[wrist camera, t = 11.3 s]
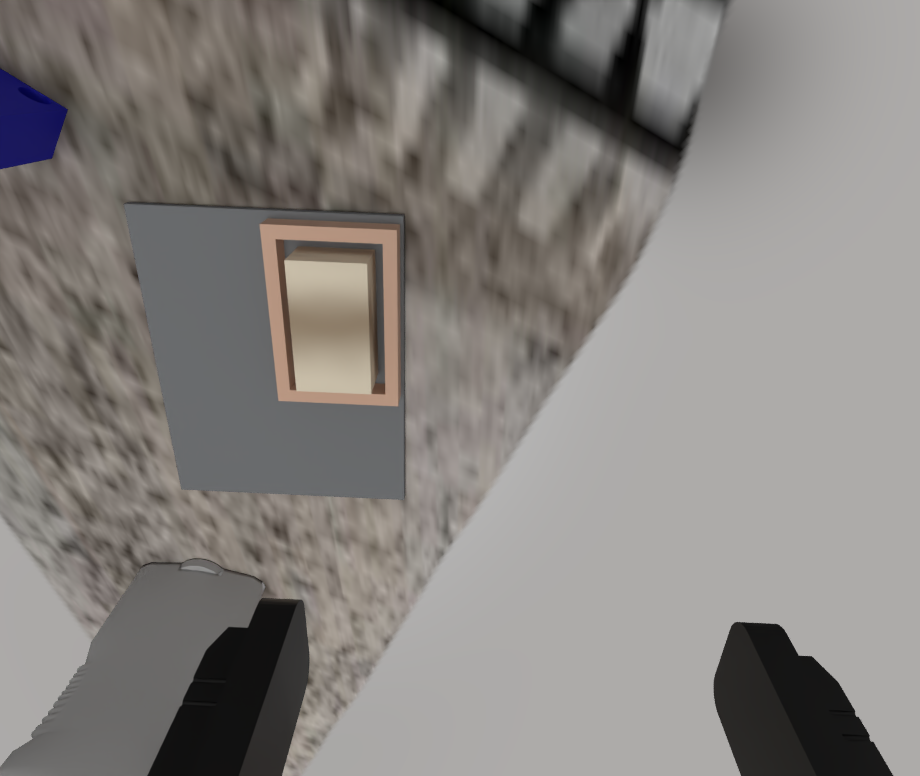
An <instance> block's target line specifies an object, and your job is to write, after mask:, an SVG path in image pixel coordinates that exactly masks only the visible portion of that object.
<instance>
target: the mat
mask: <svg viewBox="0 0 920 776" xmlns="http://www.w3.org/2000/svg"><path fill="white" fill-rule="evenodd" d="M124 208H125V213H126V218H127V223H128V228H129V233H130V238H131V243H132V248H133V253H134V257H135V262H136V267H137V272H138V277H139V282H140V287H141V292H142V297H143V302H144V307H145V312H146V317H147V322H148V326H149V331H150V336H151V341H152V346H153V351H154V356H155V361H156V366H157V371H158V376H159V381H160V386H161V391H162V395H163V400H164V405H165V410H166V415H167V420H168V425H169V430H170V435H171V440H172V445H173V450H174V455H175V459H176V464H177V469H178V474H179V479H180V484H181V489H185V490H206V491H227V492H249V493H270V494H291V495H313V496H334V497H356V498H377V499H398V500H404V498H405V307H404V215H403V214H380V213H358V212H335V211H313V210H290V209H268V208H246V207H223V206H201V205H178V204H156V203H134V202H127V203H125V204H124ZM267 218H272V219H295V220H317V221H339V222H362V223H384V224H400V333H401V397H400V401H399V405H398V406H378V405H356V404H335V403H313V402H291V401H278V392H277V383H276V373H275V364H274V355H273V345H272V336H271V327H270V317H269V308H268V299H267V289H266V280H265V271H264V261H263V252H262V243H261V233H260V223H262V222H263V221H265V220H266V219H267ZM298 246H304V247H328V248H351V249H375V262H376V301H377V339H378V375H377V379H376V382H375V383H379V384H385V344H384V289H383V244H372V243H350V242H328V241H305V240H284V251H285V259H286V258H287V257H288V256H289V255H290V254H291V253H292V252H293V251H294V250H295V249H296V248H297V247H298Z"/></svg>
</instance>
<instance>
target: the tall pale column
mask: <svg viewBox="0 0 920 776" xmlns="http://www.w3.org/2000/svg"><path fill="white" fill-rule="evenodd" d="M264 589H265V585H264V584H263V582H262V581H260V580H259V579H257V578H255V577H254V576H250V575H246V574H242V573H238V572H234V571H230V570H225V569H222V568H221V567H219V566H218V565H217V564H215V563H213V562H211V561H207V560H203V559H192V560H188V561H186V562H184V563H149V564H146V565H143V566H142V568H141V569H140V571H139V572H138V574H137V575H136V577H135V578H134V580H133V581H132V583H131V584H130V586H129V587H128V589H127V590H126V592H125V593H124V594H123V596H122V597H121V599H120V600H119V602H118V603H117V605H116V606H115V608H114V609H113V611H112V612H111V614H110V615H109V617H108V618H107V620H106V621H105V623H104V624H103V626H102V627H101V629H100V630H99V632H98V633H97V635H96V636H95V637H94V639H93V640H92V642H91V645H90V649H89V652H88V656H87V659H86V663H85V664H84V665H82V666H81V667H79V668H78V669H77V673H76V674H74V676H73V678H72V679H71V680H70V681H69V683H70V684H69V685H68V686H67V687H66V690H65V691H63V692H62V695H61V696H59V697H58V701H56V702H55V703H54V705H53V707H54V708H53V709H51V710H50V711H49V712H48V716H46V717H44V718H43V719H42V724H40V725H38V726H37V727H36V729H35V730H34V731H33V732H32V734H31V735H32V738H33V739H32V740H30V741H29V742H27V743H25V744H24V745H22V746H21V747H19V748H18V749H16V750H14V751H13V752H12V753H11V754H10V756H9V757H8V758H7V759H6V761H5V762H4V763H3V764H2V765H1V767H0V776H147V775H148V773H149V771H150V769H151V766H152V764H153V762H154V760H155V758H156V756H157V754H158V752H159V749H160V747H161V745H162V743H163V741H164V739H165V737H166V734H167V732H168V730H169V728H170V726H171V724H172V722H173V720H174V717H175V715H176V713H177V711H178V709H179V707H180V706H182V703H183V698H184V696H185V694H186V692H187V690H188V688H189V685H190V683H192V682H193V677H194V675H195V673H196V670H197V668H198V666H199V664H200V662H201V660H202V658H203V655H204V653H205V651H206V649H207V648H208V647H209V646H210V645H211V644H212V643H213V642H214V641H215V640H216V639H217V638H218V637H219V636H220V635H221V634H222V633H223V632H224V631H225V630H226V629H227V628H228V627H244V628H248V626H249V623H250V621H251V619H252V616H253V614H254V611H255V609H256V607H257V604H258V603H259V600H260V598H261V596H262V593H263V591H264Z"/></svg>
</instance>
